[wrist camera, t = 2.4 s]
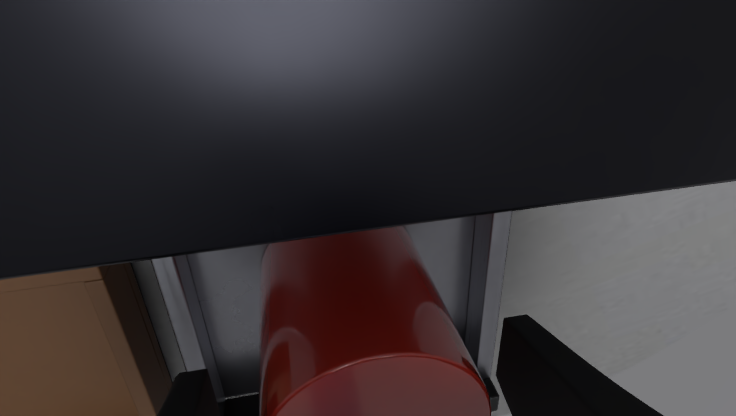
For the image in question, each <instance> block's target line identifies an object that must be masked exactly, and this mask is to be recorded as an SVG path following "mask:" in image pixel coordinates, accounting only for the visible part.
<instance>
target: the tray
mask: <svg viewBox="0 0 736 416" xmlns="http://www.w3.org/2000/svg"><path fill="white" fill-rule="evenodd" d="M171 386H172V382H171V379H170V376H169V373H168V370H167V367H166V364H165V362H164V359H163V356H162V353H161V350H160V347H159V344H158V342H157V339H156V336H155V333H154V330H153V327H152V324H151V321H150V319H149V316H148V313H147V310H146V307H145V304H144V301H143V299H142V296H141V293H140V290H139V287H138V284H137V281H136V279H135V276H134V273H133V270H132V267H131V264H130V262H129V263H122V264H115V265H107V266H100V267H92V268H85V269H77V270H70V271H63V272H55V273H48V274H40V275H33V276H25V277H18V278H11V279H3V280H0V416H157V414H158V412H159V410H160V408H161V406H162V405H163V403H164V401H165V399H166V396H167V394H168V392H169V390H170V388H171Z"/></svg>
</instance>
